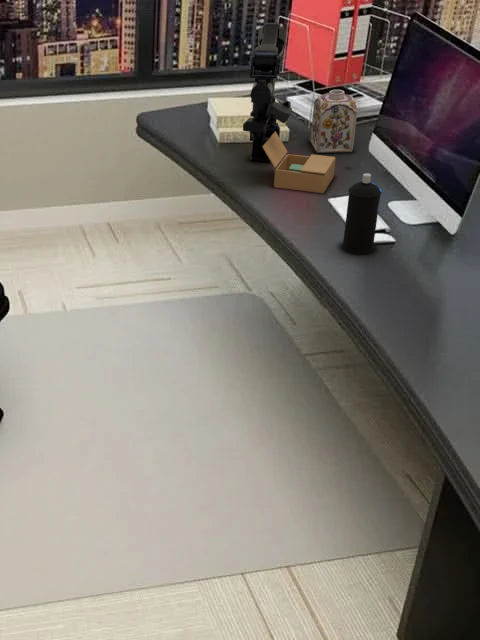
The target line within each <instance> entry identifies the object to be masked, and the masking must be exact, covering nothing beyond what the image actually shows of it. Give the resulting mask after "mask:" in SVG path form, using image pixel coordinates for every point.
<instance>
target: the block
mask: <svg viewBox="0 0 480 640" xmlns="http://www.w3.org/2000/svg"><path fill="white" fill-rule="evenodd" d="M303 166H304V165H298V164H292V165H291V166H290V167H289V171H293V172H301V171H300V170H301V169H302V167H303ZM301 173H305V172H301Z"/></svg>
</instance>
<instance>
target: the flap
mask: <svg viewBox="0 0 480 640" xmlns="http://www.w3.org/2000/svg"><path fill="white" fill-rule="evenodd" d="M262 147H263V149H264V151H265V152H266V154H267V156H268V157H269V159H270V161H271V162H270V163H271V164H272V166H273V167H274V168H275V169H276V168H277V167H278V165H279V164H280V163H281V161H282V160H283V159H284V157H285V156H286V155H287V154H288V150H287V148H286V147H285V145H284V143H283V141H282V139H281V137H280V138H279V136H278V135H277V133H276V131H275V132H274V133H273V134H272V136H271V137H270V138H269V139H268V140H267V142H266V143H265V144H264V145H263V146H262Z"/></svg>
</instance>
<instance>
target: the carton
mask: <svg viewBox="0 0 480 640" xmlns="http://www.w3.org/2000/svg"><path fill="white" fill-rule="evenodd" d="M292 164H298V165H304V166H303V167H302V169H301V170H300V171H301V172H305V173H301V172H293V171H289V167H290V166H291V165H292ZM335 168H336V156H331V155H320V154H310V156H308V155H299V154H289V153H286V154H285V156H284V157H283V158H282V160H281V161H280V162H279V164H278V165H277V166H276V167H275V169H274V181H273V188H277V189H285V190H293V191H294V190H295V191H301V192H308V193H309V192H311V193H317V194H318V193H319V194H324V193H325V191H326V190H327V188H328V187H329V185H330V183H331V182H332V180H333V178H334V176H335V170H336V169H335Z"/></svg>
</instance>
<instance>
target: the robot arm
mask: <svg viewBox="0 0 480 640" xmlns="http://www.w3.org/2000/svg"><path fill="white" fill-rule="evenodd" d="M287 37H288V31H287V29H286V28H283V26H282V25H281V23H279V22H265V23H263V26H262V27H261V28H258V36H257V45H258V46H256V47H255V49H254V53H252V54H251V62H250V70H249V71H250V72H249V78H250V79H253V85H252V88H251V91H250V94H249V95H250V103H252V108H251V109H252V110H251V112H250V115H249V116H250V117H248V118H247V119H246V120H245V121H244V123H243V124H242V131H243V132H249V142H252V147H251V157H250V158H249V160H250V161H253V162H261V163H271V161H270V159H269V157H268V156H267V154H266V152H265V151H264V149H263V147H262V146H263V145H264V144H265V143H266V142H267V140H268V139H269V138H270V137H271V136H272V134H273V133H274V132H275V131H276V133H277V135H278V136H279V138H280V139H281V137H280V136H281V127H280V126H279V123H282V124H286V122H287V121H288V120H289V118H290V117H291V115H292V112H293V107H292V104H291V103H292V102H291V101H290V100H288V99H286V100H284V102H277V101H276V96H275V87H276V79H278V75H280V73H281V65H282V64H281V63H282V58H281V56H282V55H283V54H284V49H285V48H284V47H287V40H288V38H287ZM277 121H279V122H277Z"/></svg>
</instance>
